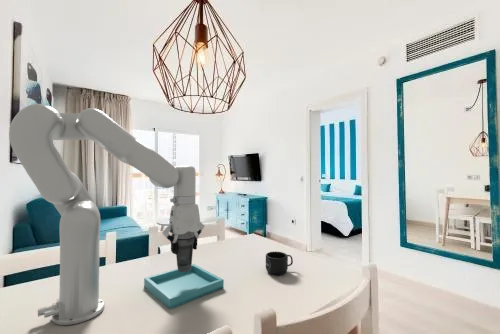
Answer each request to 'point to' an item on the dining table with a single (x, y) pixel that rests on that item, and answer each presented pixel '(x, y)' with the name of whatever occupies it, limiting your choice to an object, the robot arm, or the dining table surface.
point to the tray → (182, 285)
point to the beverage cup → (185, 251)
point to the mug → (277, 262)
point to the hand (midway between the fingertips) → (184, 250)
